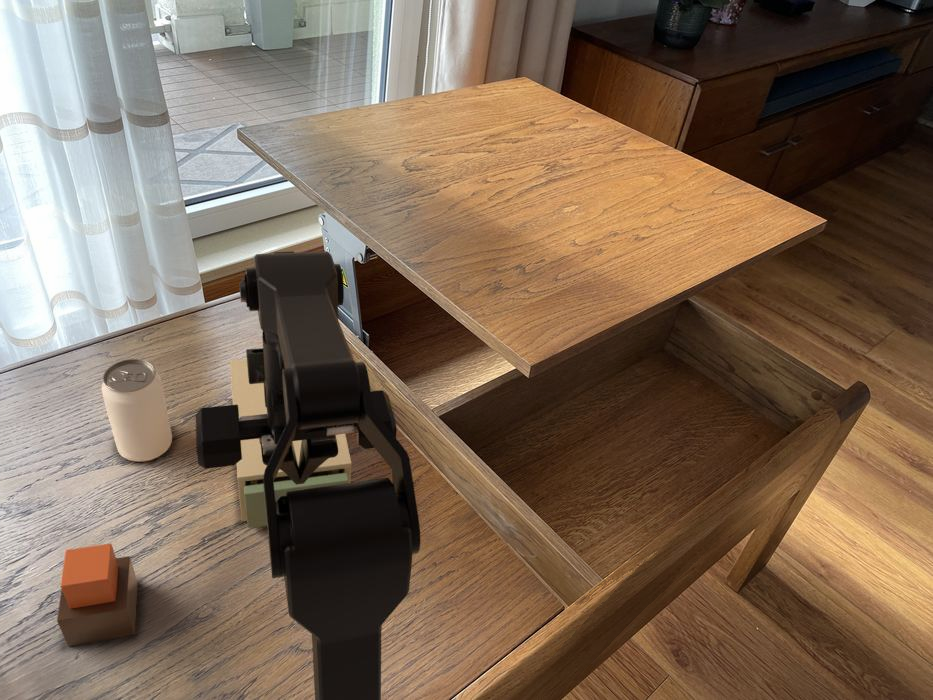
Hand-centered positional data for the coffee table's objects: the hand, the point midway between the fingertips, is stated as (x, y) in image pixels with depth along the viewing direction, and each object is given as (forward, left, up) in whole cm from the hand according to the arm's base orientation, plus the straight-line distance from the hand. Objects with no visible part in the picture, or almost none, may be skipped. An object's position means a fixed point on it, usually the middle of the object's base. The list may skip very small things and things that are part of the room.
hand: (299, 480), depth 76 cm
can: (+9, +23, -11) cm, 28 cm away
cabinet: (+13, +6, -11) cm, 18 cm away
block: (-13, +16, -6) cm, 22 cm away
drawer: (+8, +4, -10) cm, 14 cm away
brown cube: (-13, +16, -11) cm, 24 cm away
